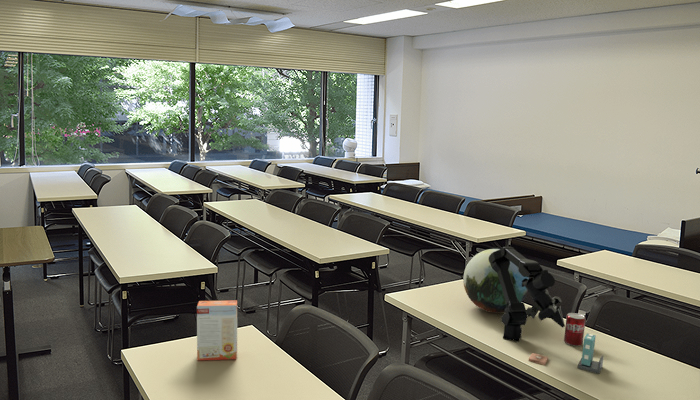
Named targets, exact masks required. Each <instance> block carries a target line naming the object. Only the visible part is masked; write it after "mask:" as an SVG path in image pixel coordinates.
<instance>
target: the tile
mask: <svg viewBox="0 0 700 400" xmlns="http://www.w3.org/2000/svg"><path fill="white" fill-rule="evenodd" d="M528 357H529V358H528V362H530V363H536V364H538V365H542V366H546V363H547V362H548V361H549V356H546V355H543V354H538V353H535V352H532V353H531V354H530V356H528Z"/></svg>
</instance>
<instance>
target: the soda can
mask: <svg viewBox="0 0 700 400" xmlns="http://www.w3.org/2000/svg"><path fill="white" fill-rule="evenodd" d="M565 317H566V318H565V327H564V334H563V335H564V336H563V342H564V343H565V344H566V345H568V346H572V347H581V346H582V345H583V344H584V338H585V337H584V335H585V326H586V316H584V315H583V314H581V313H577V312H576V313H575V312H568V313H567V314H566V316H565Z"/></svg>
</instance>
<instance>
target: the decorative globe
mask: <svg viewBox="0 0 700 400" xmlns="http://www.w3.org/2000/svg"><path fill="white" fill-rule="evenodd" d="M500 249H501V248H489V249H485V250H482V251H480V252H478V253H476V254H475V255H474V256H473V257H471V259H470V260H469V261H468V263H467V265H466V266H465V269H464V271H463V272H464V273H463V287H464V291H465V293H466V295H467V297H468V298H469V300H470V301H471V302H472V303H473V305H475V306H476V307H478V308H479V309H481V310H482V311H486V312H488V313H492V314H499V313H500V314H501V313H505V311H504V310H505V307H506V301H505V297H504V294H503V291H502V287H501V284H500V281H499V277H498V274H497V272H496V271H494V270H493V269H492V267H491V265H490V262H489V256H490V255H491V253H493V252H495V251H497V250H500ZM508 270H509V273H510V277H511V280H512V283H513V286H514V289H515V293H516V296H517V299H518V301H519V302H523V301H524V300H525V298H526V297H527V294H528V293H529V291H528V290H527V289H526V287H525V286H524V287H522V280H524V279H525V278H526V279H530V277H523V276H522V275H521V274H520V272H519V271H518V267H517V266H516V265H515V264H513V263H512V262H511V261H510V266H509V269H508Z"/></svg>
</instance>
